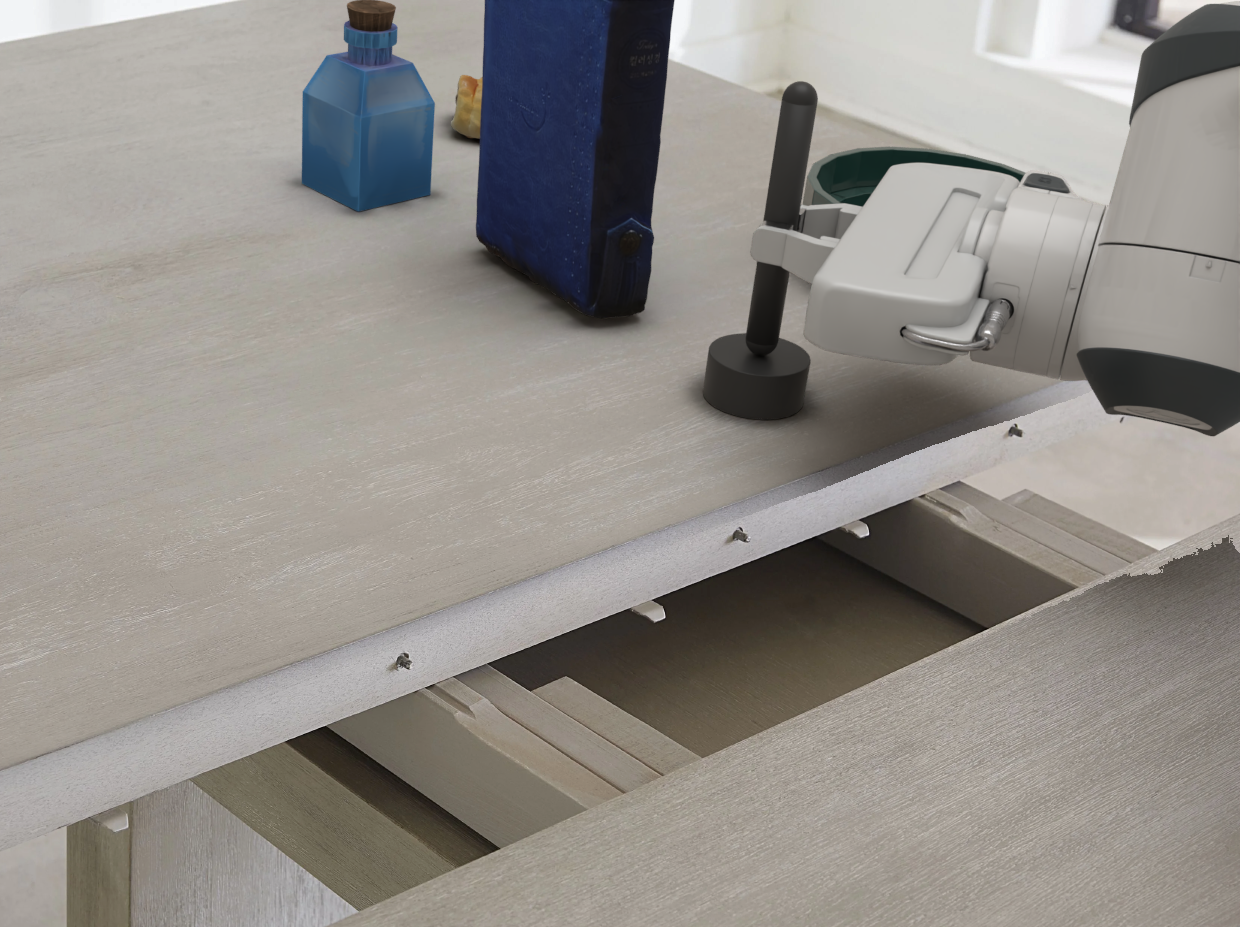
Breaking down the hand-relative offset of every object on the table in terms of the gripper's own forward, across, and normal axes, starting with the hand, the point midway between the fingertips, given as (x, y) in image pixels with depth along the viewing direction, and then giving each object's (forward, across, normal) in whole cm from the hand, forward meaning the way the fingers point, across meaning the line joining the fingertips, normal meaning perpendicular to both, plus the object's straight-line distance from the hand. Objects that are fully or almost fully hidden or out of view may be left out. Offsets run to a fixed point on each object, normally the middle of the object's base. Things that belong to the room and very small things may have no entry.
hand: (762, 229), depth 100 cm
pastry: (+28, +36, -10) cm, 46 cm away
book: (+14, +10, -10) cm, 20 cm away
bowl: (-6, +24, -10) cm, 26 cm away
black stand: (-1, 0, -10) cm, 10 cm away
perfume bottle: (+31, +19, -10) cm, 38 cm away
